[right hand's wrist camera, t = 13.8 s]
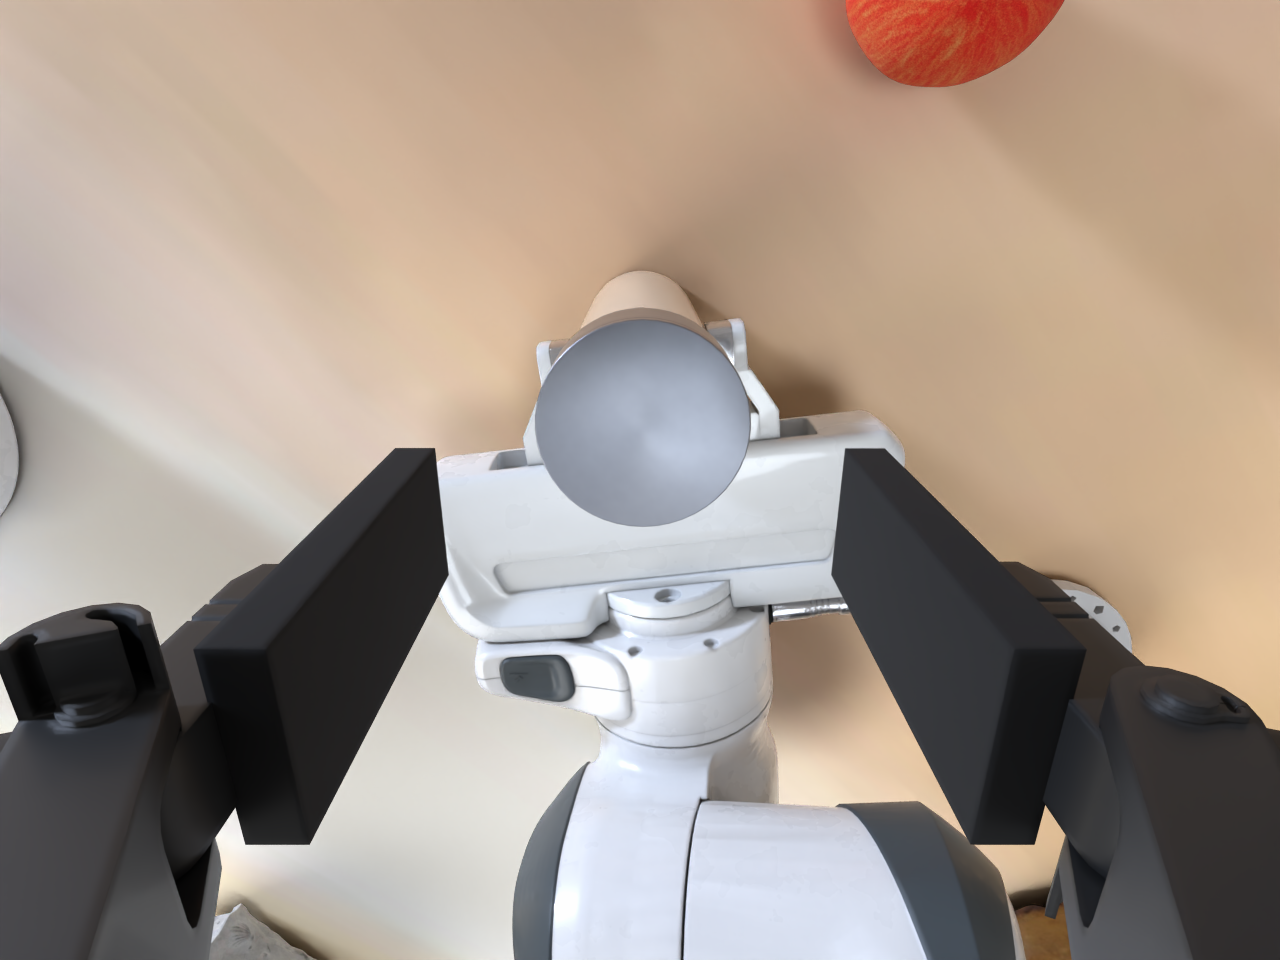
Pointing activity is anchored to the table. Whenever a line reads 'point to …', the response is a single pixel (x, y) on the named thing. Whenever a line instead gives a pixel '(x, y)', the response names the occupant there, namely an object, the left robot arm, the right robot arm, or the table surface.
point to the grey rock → (249, 939)
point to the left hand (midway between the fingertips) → (638, 331)
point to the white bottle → (641, 296)
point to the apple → (946, 36)
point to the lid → (642, 418)
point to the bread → (1043, 933)
